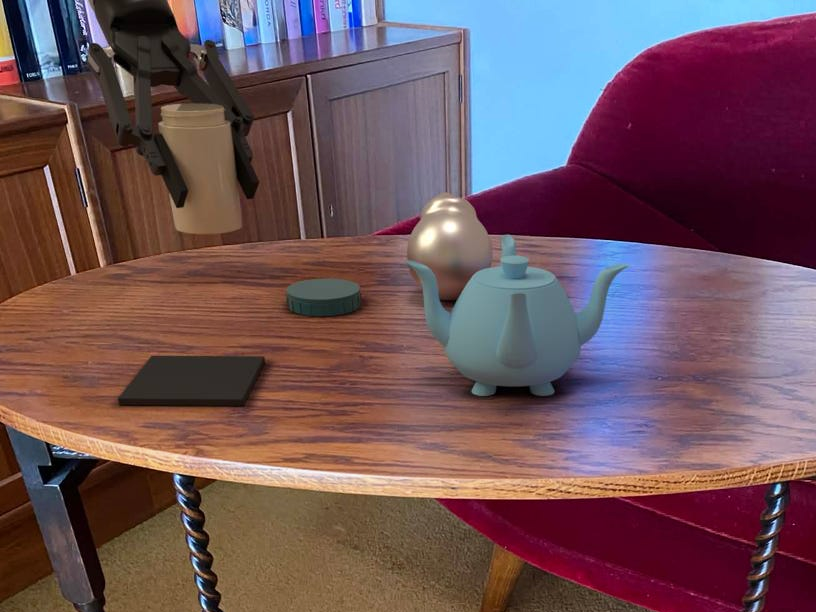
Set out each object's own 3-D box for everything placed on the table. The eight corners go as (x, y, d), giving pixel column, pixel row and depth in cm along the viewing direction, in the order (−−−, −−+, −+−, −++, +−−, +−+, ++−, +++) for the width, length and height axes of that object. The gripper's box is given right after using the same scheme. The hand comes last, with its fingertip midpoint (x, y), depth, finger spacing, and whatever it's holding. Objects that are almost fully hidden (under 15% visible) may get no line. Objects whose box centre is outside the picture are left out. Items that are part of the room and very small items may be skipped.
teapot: (405, 380, 82) (400, 257, 76) (511, 343, 90) (513, 229, 84) (515, 422, 75) (519, 290, 69) (620, 379, 83) (631, 256, 77)
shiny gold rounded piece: (501, 288, 105) (504, 189, 99) (480, 314, 97) (480, 208, 91) (422, 282, 106) (420, 183, 100) (395, 306, 99) (390, 202, 93)
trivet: (118, 405, 77) (117, 398, 77) (152, 361, 85) (151, 355, 85) (243, 406, 77) (242, 399, 77) (265, 362, 85) (264, 356, 85)
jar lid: (367, 295, 102) (366, 279, 101) (353, 318, 96) (352, 300, 95) (297, 293, 102) (295, 277, 101) (279, 315, 96) (277, 298, 95)
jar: (167, 233, 101) (146, 111, 94) (183, 218, 107) (166, 102, 100) (235, 235, 101) (220, 112, 94) (248, 219, 107) (235, 103, 100)
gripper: (209, 27, 109) (294, 206, 108) (27, 31, 99) (119, 229, 98) (224, -29, 102) (314, 161, 102) (30, -31, 92) (129, 181, 91)
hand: (218, 194), depth 100 cm, fingers closed on jar, 7 cm apart
